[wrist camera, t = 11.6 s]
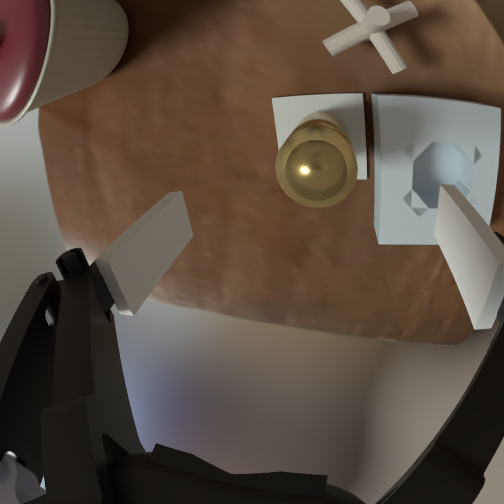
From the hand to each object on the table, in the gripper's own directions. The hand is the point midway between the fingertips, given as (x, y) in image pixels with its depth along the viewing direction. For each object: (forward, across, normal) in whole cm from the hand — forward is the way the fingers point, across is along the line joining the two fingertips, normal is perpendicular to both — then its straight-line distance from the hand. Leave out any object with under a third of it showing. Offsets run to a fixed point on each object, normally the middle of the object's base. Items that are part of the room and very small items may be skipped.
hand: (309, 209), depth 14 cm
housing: (+21, +13, -4) cm, 25 cm away
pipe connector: (+22, +6, +11) cm, 25 cm away
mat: (+21, 0, -1) cm, 21 cm away
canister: (+22, -28, +18) cm, 40 cm away
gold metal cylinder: (+21, 0, -1) cm, 21 cm away
